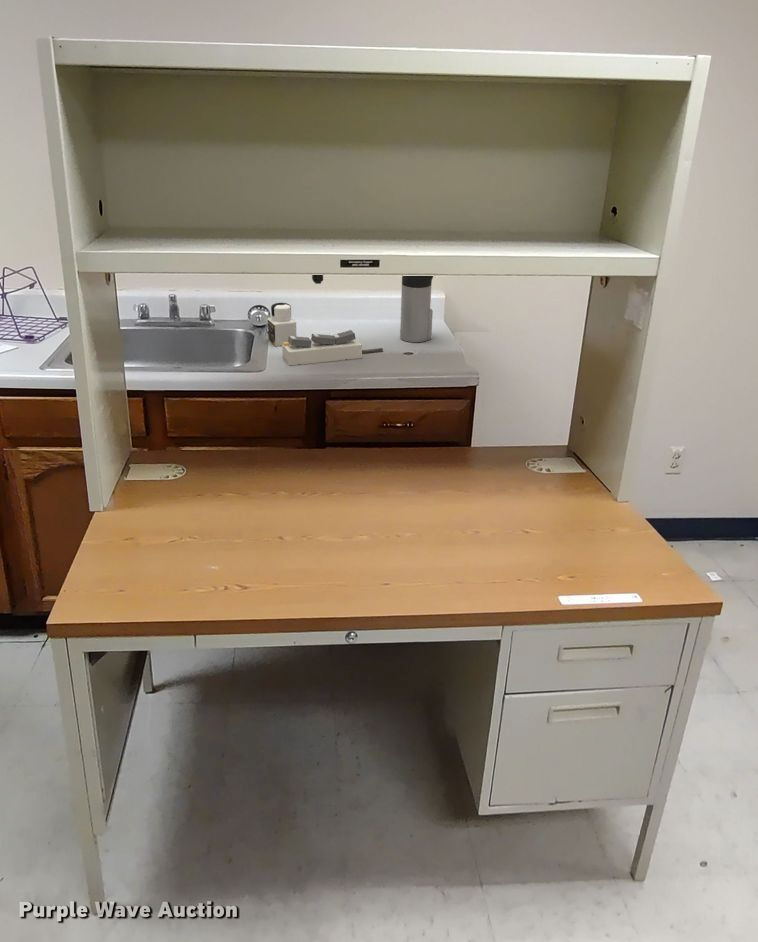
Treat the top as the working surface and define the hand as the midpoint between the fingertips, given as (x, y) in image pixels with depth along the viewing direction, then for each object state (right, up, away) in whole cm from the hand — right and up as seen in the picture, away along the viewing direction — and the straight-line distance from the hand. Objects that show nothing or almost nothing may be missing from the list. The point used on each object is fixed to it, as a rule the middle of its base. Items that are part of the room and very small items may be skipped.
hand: (317, 283), depth 213 cm
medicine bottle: (-13, -13, +23) cm, 29 cm away
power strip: (+4, -19, +12) cm, 23 cm away
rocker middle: (+1, -16, +9) cm, 18 cm away
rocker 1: (-6, -17, +6) cm, 19 cm away
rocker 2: (+7, -15, +11) cm, 20 cm away
